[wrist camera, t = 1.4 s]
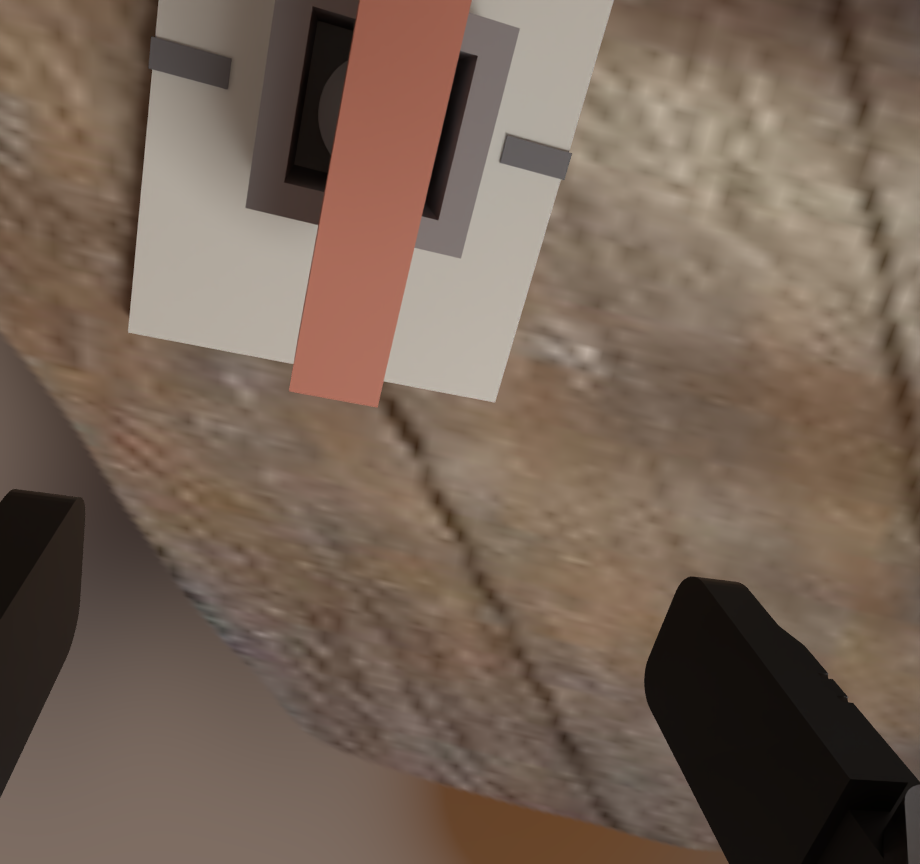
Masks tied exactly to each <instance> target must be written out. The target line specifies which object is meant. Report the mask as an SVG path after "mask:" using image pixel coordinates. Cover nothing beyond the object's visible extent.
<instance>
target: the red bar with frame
mask: <svg viewBox="0 0 920 864" xmlns="http://www.w3.org/2000/svg"><path fill="white" fill-rule="evenodd" d="M471 2H472V0H275V5H274V12H273V19H272V25H271V32H270V39H269V46H268V53H267V60H266V67H265V74H264V81H263V88H262V95H261V102H260V109H259V116H258V123H257V130H256V137H255V143H254V150H253V157H252V164H251V171H250V178H249V185H248V192H247V199H246V206H245V208H247V209H252V210H256V211H260V212H264V213H269V214H273V215H277V216H281V217H286V218H290V219H294V220H298V221H303V222H307V223H311V224H315V225H318V229H317V234H316V240H315V245H314V251H313V256H312V262H311V267H310V273H309V279H308V284H307V290H306V295H305V301H304V306H303V312H302V317H301V323H300V328H299V334H298V340H297V346H296V352H295V358H294V364H293V370H292V376H291V382H290V389H289V391H290V392H296V393H301V394H307V395H312V396H318V397H323V398H329V399H334V400H340V401H345V402H351V403H356V404H361V405H367V406H372V407H378V403H379V398H380V394H381V390H382V385H383V381H384V377H385V373H386V368H387V364H388V360H389V355H390V351H391V347H392V342H393V338H394V334H395V329H396V325H397V321H398V316H399V312H400V308H401V304H402V299H403V295H404V291H405V286H406V282H407V278H408V273H409V269H410V265H411V260H412V256H413V252H414V248H418V249H422V250H426V251H430V252H435V253H439V254H443V255H447V256H452V257H456V258H460V259H461V256H462V252H463V249H464V245H465V241H466V237H467V233H468V229H469V225H470V221H471V217H472V214H473V210H474V206H475V202H476V198H477V194H478V190H479V186H480V182H481V178H482V175H483V171H484V167H485V163H486V159H487V155H488V151H489V147H490V143H491V139H492V136H493V132H494V128H495V124H496V120H497V116H498V112H499V108H500V104H501V100H502V97H503V93H504V89H505V85H506V81H507V77H508V73H509V69H510V65H511V61H512V58H513V54H514V50H515V46H516V42H517V38H518V34H519V30H520V28H517V27H514V26H511V25H508V24H504V23H501V22H498V21H495V20H492V19H488V18H485V17H482V16H479V15H476V14H473V13H469V10H470V6H471ZM318 21H321V22H325V23H328V24H331V25H335V26H338V27H342V28H345V29H348V30H352V31H353V36H352V42H351V47H350V53H349V58H348V64H347V69H346V75H345V80H344V86H343V91H342V97H341V102H340V108H339V113H338V119H337V124H336V130H335V135H334V141H333V146H332V152H331V157H330V163H329V168H328V173H326V172H322V171H318V170H314V169H310V168H306V167H302V166H298V165H294V162H295V156H296V150H297V144H298V138H299V132H300V126H301V119H302V113H303V107H304V101H305V95H306V89H307V83H308V77H309V71H310V65H311V59H312V53H313V46H314V40H315V34H316V28H317V22H318Z"/></svg>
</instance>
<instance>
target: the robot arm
mask: <svg viewBox="0 0 920 864" xmlns="http://www.w3.org/2000/svg"><path fill="white" fill-rule="evenodd" d="M84 525H85V504H84V500H83V499H82V498H81V497H73V496H66V495H58V494H49V493H42V492H34V491H26V490H18V489H13V490H11V491H10V492H9V493H8V494H7V495H6V496H5V497H4V498H3V500H2V501H1V502H0V797H1V795H2V793H3V791H4V789H5V787H6V784H7V782H8V780H9V778H10V776H11V774H12V772H13V770H14V767H15V765H16V763H17V761H18V759H19V757H20V754H21V753H22V751H23V749H24V746H25V744H26V742H27V740H28V738H29V736H30V734H31V731H32V729H33V727H34V725H35V723H36V721H37V719H38V717H39V715H40V713H41V710H42V708H43V706H44V704H45V702H46V700H47V698H48V696H49V694H50V691H51V689H52V687H53V685H54V683H55V681H56V679H57V677H58V674H59V672H60V670H61V668H62V666H63V664H64V662H65V660H66V657H67V655H68V653H69V650H70V647H71V644H72V641H73V637H74V633H75V629H76V625H77V620H78V614H79V607H80V592H81V576H82V559H83V542H84V527H85V526H84ZM644 686H645V694H646V699H647V702H648V705H649V707H650V710H651V712H652V714H653V715H654V717H655V719H656V721H657V723H658V725H659V727H660V729H661V731H662V733H663V735H664V737H665V739H666V741H667V743H668V745H669V747H670V749H671V751H672V753H673V755H674V757H675V759H676V761H677V763H678V765H679V766H680V768H681V770H682V772H683V774H684V776H685V778H686V780H687V782H688V784H689V786H690V788H691V790H692V792H693V794H694V796H695V798H696V800H697V802H698V804H699V806H700V808H701V810H702V812H703V814H704V815H705V817H706V819H707V821H708V823H709V825H710V827H711V829H712V831H713V833H714V835H715V837H716V839H717V841H718V843H719V845H720V847H721V849H722V851H723V853H724V855H725V857H726V859H727V861H728V862H729V864H920V782H919V780H918V779H917V778H916V777H915V776H914V775H913V773H912V772H911V771H910V770H909V769H908V767H907V766H906V765H905V764H904V763H903V762H902V760H901V759H900V758H899V757H898V756H897V754H896V753H895V752H894V751H893V750H892V749H891V747H890V746H889V745H888V744H887V743H886V741H885V740H884V739H883V738H882V737H881V735H880V734H879V733H878V732H877V731H876V730H875V728H874V727H873V726H872V725H871V724H870V722H869V721H868V720H867V719H866V718H865V717H864V715H863V714H862V713H861V712H860V711H859V709H858V708H857V707H856V706H855V705H854V704H853V703H848V701H847V698H848V696H847V695H846V694H845V693H844V692H843V691H842V689H841V688H840V687H839V686H838V685H837V683H836V682H835V681H834V680H833V679H828V673H827V672H826V670H825V669H824V668H823V667H822V666H821V665H820V663H819V662H818V661H817V660H816V659H815V657H814V656H813V655H812V654H811V653H810V652H809V650H808V649H807V648H806V647H805V646H804V645H803V644H802V643H800V642H799V641H798V640H796V639H795V638H794V637H792V636H791V635H790V634H789V633H787V632H786V631H785V630H783V629H782V628H781V627H780V626H778V624H777V623H776V622H775V621H774V620H773V618H772V617H771V616H770V615H769V614H768V612H767V611H766V610H765V609H764V608H763V606H762V605H761V604H760V603H759V602H758V600H757V599H756V598H755V597H754V595H753V594H752V593H751V592H750V591H749V589H748V588H747V587H746V586H745V585H743V584H741V583H739V582H732V581H725V580H717V579H709V578H701V577H688V578H686V579H684V580H683V581H682V582H681V584H680V585H679V587H678V588H677V590H676V593H675V595H674V598H673V600H672V602H671V605H670V607H669V610H668V612H667V614H666V617H665V619H664V622H663V624H662V627H661V629H660V631H659V634H658V636H657V639H656V641H655V644H654V646H653V648H652V651H651V653H650V656H649V658H648V661H647V664H646V669H645V678H644Z"/></svg>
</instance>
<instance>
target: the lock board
mask: <svg viewBox="0 0 920 864" xmlns="http://www.w3.org/2000/svg"><path fill="white" fill-rule="evenodd" d="M613 1H614V0H472V2H471V6H470V10H469V13H473V14H476V15H479V16H482V17H485V18H488V19H492V20H495V21H498V22H501V23H504V24H508V25H511V26H514V27H517V28H520V30H519V34H518V38H517V42H516V46H515V50H514V54H513V58H512V61H511V65H510V69H509V73H508V77H507V81H506V85H505V89H504V93H503V97H502V100H501V104H500V108H499V112H498V116H497V120H496V124H495V128H494V132H493V136H492V139H491V143H490V147H489V151H488V155H487V159H486V163H485V167H484V171H483V175H482V178H481V182H480V186H479V190H478V194H477V198H476V202H475V206H474V210H473V214H472V217H471V221H470V225H469V229H468V233H467V237H466V241H465V245H464V249H463V252H462V256H461V259H460V258H456V257H452V256H447V255H443V254H439V253H435V252H430V251H426V250H422V249H418V248H414V252H413V256H412V260H411V265H410V269H409V273H408V278H407V282H406V286H405V291H404V295H403V299H402V304H401V308H400V312H399V316H398V321H397V325H396V329H395V334H394V338H393V342H392V347H391V351H390V355H389V360H388V364H387V368H386V373H385V377H384V381H385V382H391V383H396V384H401V385H406V386H412V387H417V388H422V389H427V390H432V391H438V392H443V393H448V394H453V395H459V396H464V397H469V398H474V399H480V400H485V401H490V402H495V401H496V397H497V394H498V390H499V387H500V384H501V380H502V377H503V374H504V370H505V367H506V363H507V360H508V357H509V353H510V350H511V346H512V343H513V340H514V336H515V333H516V330H517V326H518V323H519V319H520V316H521V313H522V309H523V306H524V302H525V299H526V296H527V292H528V289H529V285H530V282H531V279H532V275H533V272H534V269H535V265H536V262H537V258H538V255H539V252H540V248H541V245H542V241H543V238H544V235H545V231H546V228H547V225H548V221H549V218H550V214H551V211H552V208H553V204H554V201H555V197H556V194H557V191H558V187H559V184H560V180H561V179H562V180H564V179H565V175H566V172H567V169H568V165H569V162H570V159H571V155H572V153H569V150H570V147H571V143H572V140H573V136H574V133H575V130H576V126H577V123H578V119H579V116H580V113H581V109H582V106H583V103H584V99H585V96H586V92H587V89H588V86H589V82H590V79H591V75H592V72H593V69H594V65H595V62H596V59H597V55H598V52H599V48H600V45H601V42H602V38H603V35H604V31H605V28H606V25H607V21H608V18H609V14H610V11H611V8H612V4H613ZM274 5H275V0H159V2H158V13H157V24H156V35H155V37H153V36H151V45H150V56H149V69H152V78H151V89H150V100H149V111H148V122H147V133H146V143H145V154H144V165H143V176H142V187H141V198H140V209H139V219H138V230H137V241H136V252H135V263H134V274H133V285H132V296H131V306H130V317H129V328H128V332H129V333H134V334H139V335H144V336H150V337H155V338H160V339H165V340H171V341H176V342H181V343H186V344H192V345H197V346H202V347H207V348H213V349H218V350H223V351H228V352H233V353H239V354H244V355H249V356H254V357H260V358H265V359H270V360H275V361H281V362H286V363H291V364H294V358H295V352H296V346H297V340H298V334H299V328H300V323H301V317H302V312H303V306H304V301H305V295H306V290H307V284H308V279H309V273H310V267H311V262H312V256H313V251H314V245H315V240H316V234H317V229H318V225H315V224H311V223H307V222H303V221H298V220H294V219H290V218H286V217H281V216H277V215H273V214H269V213H264V212H260V211H256V210H252V209H247V208H245V206H246V199H247V192H248V185H249V178H250V171H251V164H252V157H253V150H254V143H255V137H256V130H257V123H258V116H259V109H260V102H261V95H262V88H263V81H264V74H265V67H266V60H267V53H268V46H269V39H270V32H271V25H272V19H273V12H274ZM352 36H353V31H352V30H348V29H345V28H342V27H338V26H335V25H331V24H328V23H325V22H321V21H318V22H317V28H316V34H315V40H314V46H313V53H312V59H311V65H310V71H309V77H308V83H307V89H306V95H305V101H304V107H303V113H302V119H301V126H300V132H299V138H298V144H297V150H296V156H295V162H294V165H298V166H302V167H306V168H310V169H314V170H318V171H322V172H326V173H328V168H329V163H330V157H331V152H332V146H333V141H334V135H335V130H336V124H337V119H338V113H339V108H340V102H341V97H342V91H343V86H344V80H345V75H346V69H347V64H348V58H349V53H350V47H351V42H352Z"/></svg>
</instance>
